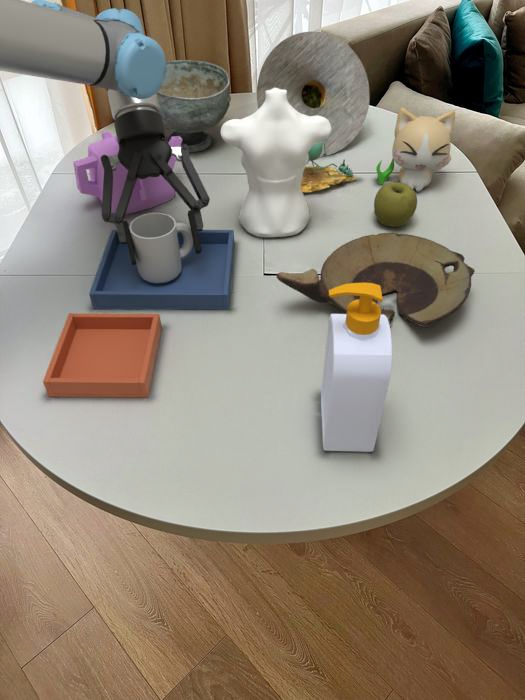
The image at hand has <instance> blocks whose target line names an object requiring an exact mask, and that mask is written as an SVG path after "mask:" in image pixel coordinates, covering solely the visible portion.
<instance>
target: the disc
mask: <svg viewBox="0 0 525 700" xmlns="http://www.w3.org/2000/svg"><path fill="white" fill-rule="evenodd" d="M366 71H367V70H366V68H365V67H364V65H363V62H362V61H361V58H359V56H358V54H356V52H355V50H353V48H351V47H350V46H349V45H348V44H347V43H345V42H344V41H343V40H342V39H340V38H338V37H337V36H335V35H332V34H330V33H326V32H321V31H302V32H298V33H296V34H293V35H290V36H288V37H287V38H285V39H283V40H281V41H280V42H279V43H278V44H277V45H275V46H274V47H273V49H272V50H271V51H270V52H269V54H268V55H267V57H266V58H265V60H264V62H263V64H262V66H261V68H260V71H259V74H258V78H257V84H256V103H257V108H258V109H259V108H260V107H261V106H262V105H263V103H264V102H265V98H266V95H265V91H267V90H271V89H273V88H278V89H282V90H287V101H288V103H289V104H290V105H291V106H292V107H293V108H294V109H295V110H296V111H298V112H299V113H301V114H304V115H307V116H316V115H317V116H322V117H325V118H326V119H328V120H329V122H330V124H331V133H330V135H329V136H328V137H327V138H325V139H324V140H322V143H325V150H324V144H322V146H323V149H322V153H321V155H320V157H319V158H321V157H324V156H323V154H324V153H325V151H326V154H327V155H326V156H325V157H327V156H330V155H333V154H335V153H338V152H340V151H341V150H343V149H344V148H345V147H347V146H348V145H350V143H351V142H352V141H354V140H355V138H356V137H357V136H358V134H359V133H360V131H361V130H362V128H363V126H364V123H365V120H366V119H367V115H368V112H369V108H370V85H369V79H368V74H367V72H366ZM258 109H257V110H258Z"/></svg>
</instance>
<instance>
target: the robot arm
mask: <svg viewBox="0 0 525 700" xmlns="http://www.w3.org/2000/svg"><path fill="white" fill-rule="evenodd" d="M166 62H167V59H166V56H165V53H164V50H163V48H162V47H161V45H160V44H159V42H157V41H156V40H155V39H153V38H152V37H150V36H147V35H145V32H144V29H143V25H142V22H141V19H140V18H139V17H138V15H137V14H135V12H133V11H131V10H129V9H126V8H121V9H117V8H115V7H113V8H108V9H105V10H103V11H101V12H100V13H98V15H96V17H94V16H91V15H89V14H86V13H83V12H81V11H77V10H75V9H72V8H69V7H67V6H64V5H61V4H59V3H58V2H52V1H49V0H32V1H31V2H30V1H27V0H0V72H7V73H12V74H18V75H24V76H31V77H36V78H37V77H38V78H44V79H48V80H55V81H61V82H66V83H67V82H68V83H73V84H79V85H85V86H89V87H90V86H91V87H93V88H100V89H106V93H107V97H108V98H107V99H108V103H109V107H110V111H111V117H112V119H113V120H114V122H113V126H114V131H115V136H117V140H118V145H119V151H118V155H113V156H109V157H108V156H107V155H102V156H101V162H102V165H103V169H104V181H103V198H102V202H101V218H102V221H103V222H105V223H111V224H114V225H115V227H116V230H117V233H118V238H119V242H120V243H121V244H128V248H129V253H130V258H131V263H132V265H136V264H137V262H136V258H135V253H134V248H133V243H132V239H131V234H130V229H129V228H130V224H129V220H125V217H126V215H125V214H126V211H127V208H128V205H129V202H130V198H131V195H132V192H133V189H134V186H135V184H136V181H137V178H140V179H145V178H148V177H159V175H162V177H163V178H164V179H165V180H166V181H167V182H168V183H169V184H170V185H171V187H172V188H173V189H174V190H175V194H177V195H178V196H179V198H180V199H181V200H182V202H183V203H184V204H185V205H186V206H187V207H188V211H187V219H188V223H189V228H190V229H191V233H192V238H193V243H194V248H195V252H196V254H199V253H201V251H202V249H201V244H200V240H199V235H198V232H199V231H202V230H204V221H203V217H202V211H201V210H202V209H204V208H206V207H208V206H209V204H210V200H211V198H210V196H209V194H208V192H207V190H206V187H205V186H204V183H203V182H202V180H201V178H200V176H199V173H198V172H197V170H196V168H195V165H194V163H193V162H192V160H191V156H190V152H189V147H188V145H186V144H183V145H182V146H181V147H171V146H170V145H169V144H168V142H167V135H166V130H165V127H164V125H163V121H162V117H161V115H160V114H159V113H160V106H159V101H158V97H157V92H158V90H159V89H160V88H161V86H162V84H163V82H164V79H165V74H166ZM171 155H173V156H175V157H176V161H178V162H181V166H182V168H183V171H184V173H185V175H186V177H187V179H188V181H189V183H190V184H191V187H192V188H193V191H194V193H195V195H196V197H197V198H196V197H194V195H193V194H192V192H191V191H190V190H189V189H188V188H187V187H186V186H185V184H184V183H183V182H182V181H181V180H180V178H179V177H178V176H177V175H176V173H175V172H174V169H173V170H172V169H171V167H170V166H169V165H168V162H169V160H170V158H171ZM118 163H121V164H122V165H123V166H124V167H125V168H126V169H127V170H128V174H127V178H126V181H125V185H124V188H123V191H122V194H121V197H120V200H119V203H118V206H117V210H116V213H115V214H114V213H111V207H112V190H113V172H112V171H115V170H116V168H117V164H118Z"/></svg>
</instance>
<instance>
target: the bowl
mask: <svg viewBox="0 0 525 700" xmlns="http://www.w3.org/2000/svg"><path fill="white" fill-rule="evenodd" d="M230 83H231V82H230V76H229V74H228V71H226V69H224V68H223V67H221V66H219V65H217V64H215V63H211V62H208V61H201V60H192V59H191V60H190V59H176V60H175V59H174V60H168V61H166V74H165V79H164V82H163V84H162V86H161V88H160V89H159V90H158V92H157V97H158V101H159V106H160V113H159V114H160V115H161V117H162V121H163V125H164V129H167V130H170V131H173V132H172V133H170V134H169V136H168V137H167V138H166V140H167V142H169V141H170V139H171V137H176V136H180V137H181V138H182V143H181V146H182V145H183V144H186V145H188V147H189V153H196V152H201V151H204V150H206V149H207V148H209V147H210V146H211V144H212V138H211V135H210V134H208V133H207V132H206V131H208V130H210V129H212V128H214V127H215V126H216V125H218V123H220V121H221V120H223V119H224V118H225V116H226V114H227V112H228V110H229V108H230V105H231V104H230V102H231V100H232V97H231V91H230V89H231V88H230V87H231V85H230ZM181 146H180V147H181Z"/></svg>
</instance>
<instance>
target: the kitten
mask: <svg viewBox="0 0 525 700" xmlns="http://www.w3.org/2000/svg"><path fill="white" fill-rule="evenodd" d="M455 119H456V110H455V109H451V110H449V111H447V112H445V113H443V114H441V115H439V116H436V117H434V116H429V115H420V116H416V115H415V114H413V113H411V112H410V111H409V110H407V108H405V107H400V108H399V109H398V112H397V117H396V123H395V127H394V140H393V144H392V150H391V156H392V159H391V162H390V163H389V165H388V167H387V168H386V169H385V170H384V171H383V172H382V171H381V166H382V162H383V159H381V160H380V161H379V163H378V164H377V165H376V174H377V179H376V181H377V183H378V185H381V186H383V185H384V182H385V181H388V177H390V175H391V174H393V171H394V169H395V164H396V165H398V166H399V167H401V168H400V169H399V171H398V181H399V183H404V184H406V185H408V186H410V187H411V188H412V189H413V190H415V191H416V193H417V192H418V193H419V192H421V191H422V190H423V189H424V188H425V187H427V186H429V184H431V181H432V175H433V174H435V173H437V172H439V171H440V170H441V169H443V168H445V167H446V166H447V165H448V164H449V163H450V162H451V161H452V155H451V142H452V141H451V137H452V136H453V135H452V134H453V128H454V124H455Z"/></svg>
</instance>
